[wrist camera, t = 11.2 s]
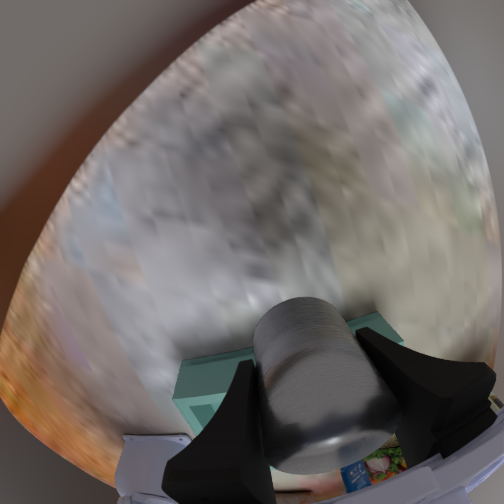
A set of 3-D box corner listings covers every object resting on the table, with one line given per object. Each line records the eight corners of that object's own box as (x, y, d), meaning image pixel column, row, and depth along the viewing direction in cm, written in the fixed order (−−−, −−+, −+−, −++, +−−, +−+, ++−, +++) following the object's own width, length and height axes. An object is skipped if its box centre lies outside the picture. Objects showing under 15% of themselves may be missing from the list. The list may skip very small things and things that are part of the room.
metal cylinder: (264, 381, 15) (278, 483, 8) (242, 311, 13) (247, 422, 7) (346, 358, 15) (393, 448, 8) (338, 285, 13) (410, 372, 6)
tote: (227, 442, 26) (227, 475, 22) (181, 360, 23) (172, 399, 18) (374, 406, 26) (389, 435, 21) (377, 311, 22) (403, 340, 17)
